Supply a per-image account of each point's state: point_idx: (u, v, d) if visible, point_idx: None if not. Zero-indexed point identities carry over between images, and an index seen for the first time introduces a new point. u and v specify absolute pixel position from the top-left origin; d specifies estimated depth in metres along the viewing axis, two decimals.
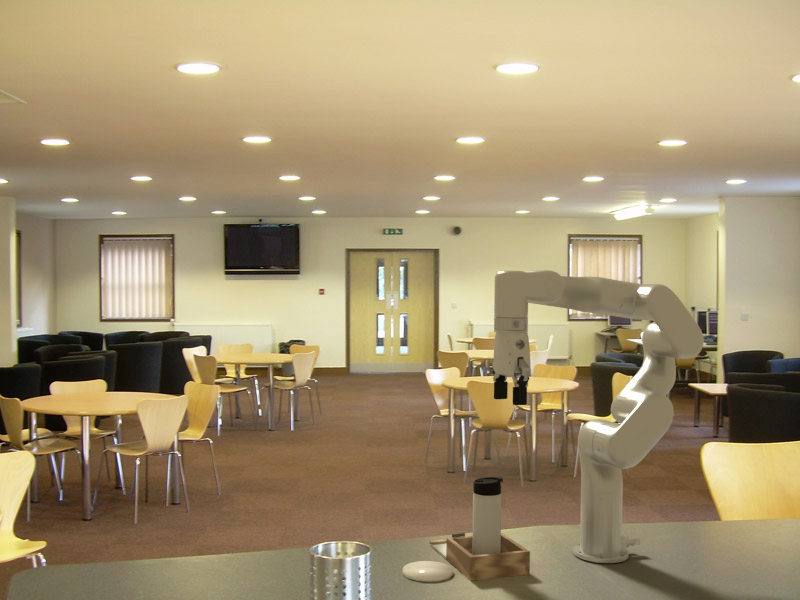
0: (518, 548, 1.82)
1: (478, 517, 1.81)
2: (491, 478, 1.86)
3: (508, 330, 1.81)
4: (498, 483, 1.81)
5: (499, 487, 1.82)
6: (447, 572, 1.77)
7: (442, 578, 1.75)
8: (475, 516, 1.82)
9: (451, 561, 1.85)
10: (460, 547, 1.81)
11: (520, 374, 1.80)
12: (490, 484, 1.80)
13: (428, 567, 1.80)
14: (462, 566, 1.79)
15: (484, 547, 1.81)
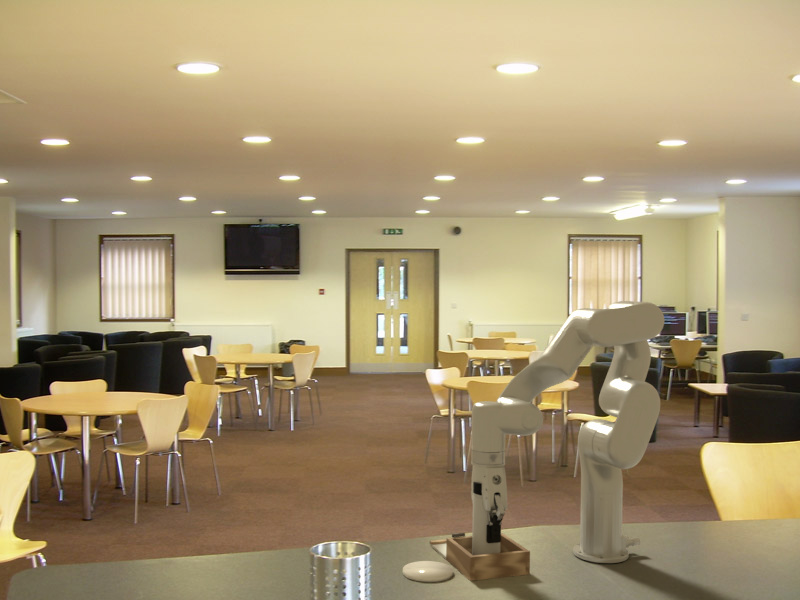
0: (518, 548, 1.82)
1: (478, 517, 1.81)
2: None
3: (485, 464, 1.80)
4: None
5: None
6: (447, 572, 1.77)
7: (442, 578, 1.75)
8: (475, 516, 1.82)
9: (451, 561, 1.85)
10: (460, 547, 1.81)
11: None
12: None
13: (428, 567, 1.80)
14: (462, 566, 1.79)
15: (484, 547, 1.81)
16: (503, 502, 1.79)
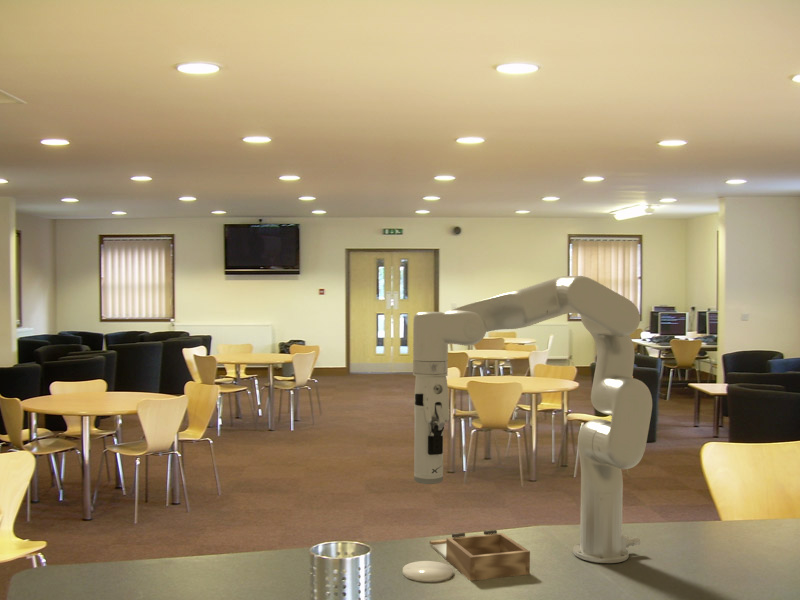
0: (518, 548, 1.82)
1: (419, 428, 1.76)
2: None
3: (426, 374, 1.75)
4: None
5: None
6: (447, 572, 1.77)
7: (442, 578, 1.75)
8: (416, 428, 1.77)
9: (451, 561, 1.85)
10: (460, 547, 1.81)
11: None
12: None
13: (428, 567, 1.80)
14: (462, 566, 1.79)
15: (425, 459, 1.76)
16: (444, 412, 1.74)
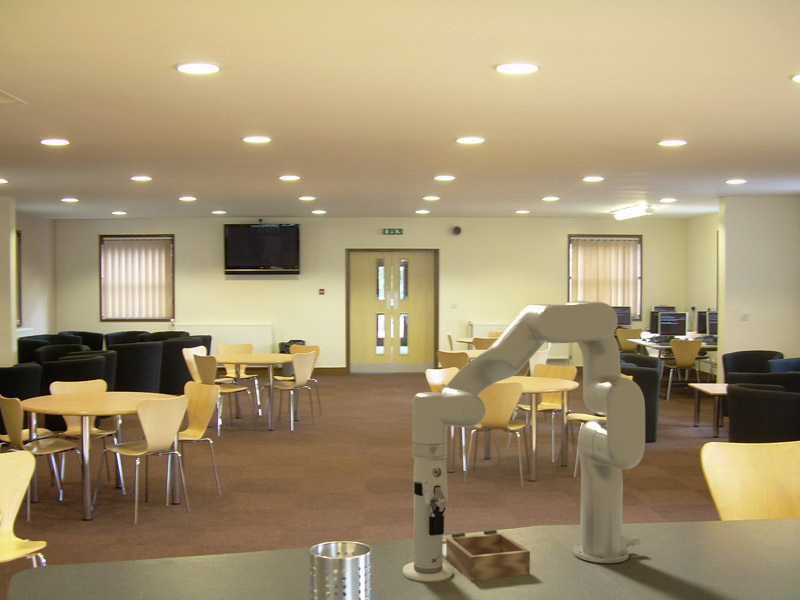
0: (518, 548, 1.82)
1: (418, 518, 1.77)
2: None
3: (425, 457, 1.75)
4: None
5: None
6: (447, 572, 1.77)
7: (442, 578, 1.75)
8: (416, 517, 1.77)
9: (451, 561, 1.85)
10: (460, 547, 1.81)
11: (437, 503, 1.75)
12: None
13: None
14: (462, 566, 1.79)
15: (425, 549, 1.76)
16: (443, 495, 1.75)
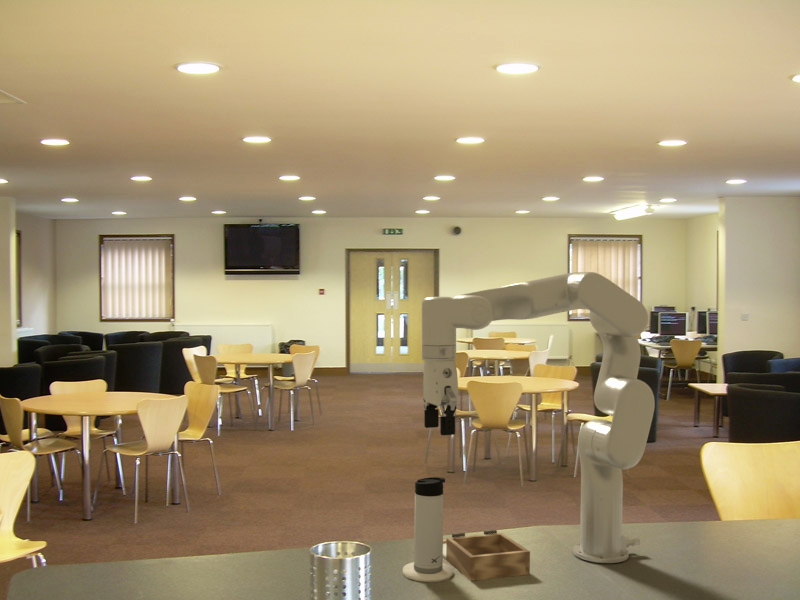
0: (518, 548, 1.82)
1: (419, 518, 1.77)
2: (434, 478, 1.81)
3: (435, 358, 1.77)
4: (440, 483, 1.77)
5: (441, 487, 1.77)
6: (447, 572, 1.77)
7: (442, 578, 1.75)
8: (416, 517, 1.78)
9: (451, 561, 1.85)
10: (460, 547, 1.81)
11: (448, 403, 1.76)
12: (431, 484, 1.76)
13: None
14: (462, 566, 1.79)
15: (425, 549, 1.76)
16: (454, 396, 1.76)
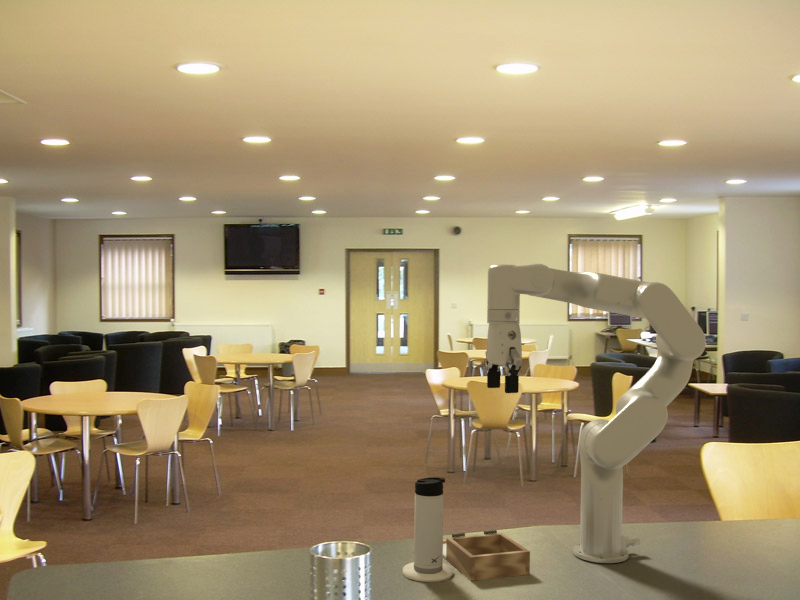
0: (518, 548, 1.82)
1: (419, 518, 1.77)
2: (434, 478, 1.81)
3: (500, 321, 1.89)
4: (440, 483, 1.77)
5: (441, 487, 1.77)
6: (447, 572, 1.77)
7: (442, 578, 1.75)
8: (416, 517, 1.78)
9: (451, 561, 1.85)
10: (460, 547, 1.81)
11: (512, 363, 1.88)
12: (431, 484, 1.76)
13: None
14: (462, 566, 1.79)
15: (425, 549, 1.76)
16: None
